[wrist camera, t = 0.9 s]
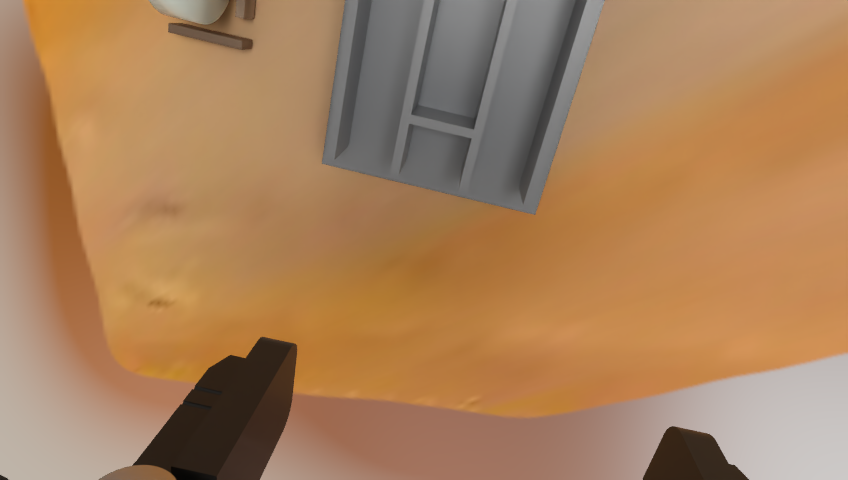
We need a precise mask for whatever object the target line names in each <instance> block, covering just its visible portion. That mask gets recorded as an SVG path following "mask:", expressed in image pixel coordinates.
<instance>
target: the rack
mask: <svg viewBox="0 0 848 480" xmlns="http://www.w3.org/2000/svg"><path fill="white" fill-rule="evenodd" d="M604 1H605V0H345V6H344V13H343V20H342V27H341V34H340V41H339V48H338V55H337V62H336V69H335V76H334V83H333V90H332V97H331V104H330V111H329V118H328V125H327V132H326V139H325V146H324V153H323V160H322V164H326V165H330V166H334V167H338V168H342V169H347V170H351V171H355V172H359V173H363V174H367V175H372V176H376V177H380V178H384V179H388V180H392V181H397V182H401V183H405V184H409V185H413V186H417V187H422V188H426V189H430V190H434V191H438V192H442V193H447V194H451V195H455V196H459V197H463V198H467V199H472V200H476V201H480V202H484V203H488V204H492V205H497V206H501V207H505V208H509V209H513V210H517V211H522V212H526V213H530V214H534V215H535V214H536V210H537V207H538V204H539V201H540V198H541V195H542V192H543V189H544V186H545V183H546V180H547V177H548V173H549V170H550V167H551V164H552V161H553V158H554V155H555V152H556V149H557V146H558V143H559V140H560V136H561V133H562V130H563V127H564V124H565V121H566V118H567V115H568V112H569V109H570V106H571V103H572V100H573V96H574V93H575V90H576V87H577V84H578V81H579V78H580V75H581V72H582V69H583V66H584V63H585V59H586V56H587V53H588V50H589V47H590V44H591V41H592V38H593V35H594V32H595V29H596V26H597V22H598V19H599V16H600V13H601V10H602V7H603V4H604Z"/></svg>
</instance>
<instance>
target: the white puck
mask: <svg viewBox="0 0 848 480" xmlns="http://www.w3.org/2000/svg"><path fill="white" fill-rule="evenodd" d="M149 2H150V3H151V4H152V5H153V7H154V8H155V9H156V10H157V11H159V12H160V13H162V14H164V15H166V16H170V17H174V18H178V19H183V20H187V21H191V22H195V23H199V24H205V25H208V24H211V23H213V22H215V21H216V20H218V19H219V17H220V16H221V15H222V14H223V12H224V11H225V9H226V7H227V5H228V3H229V0H149Z"/></svg>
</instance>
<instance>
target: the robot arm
mask: <svg viewBox="0 0 848 480" xmlns="http://www.w3.org/2000/svg"><path fill="white" fill-rule="evenodd" d="M296 357H297V345H296V344H294V343H289V342H284V341H280V340H275V339H270V338H266V337H261V338H260V339H259V340H258V341H257V343H256V344H255V346H254V347H253V348H252V350H251V351H250V353H249V354H248V356H247V357H246V358H242V357H237V356H232V355H230V356H228V357H226V358H225V359H223V360H221V361H220V362H218V363H216V364H215V365H213V366H212V367H210V368H209V369H208V370H207V371H206V372H205V374H204V375H203V376H202V378H201V379H200V380H199V381H198V383H197V384H196V385H195V388H194V390H193V389H192V390H191V392H190V393H189V394H188V396H187V397H186V398H185V399H184V401H183V404H182V405H180V406H179V407H178V408H177V410H176V411H175V412H174V413H173V415H172V416H171V417H170V419H169V420H168V421H167V423H166V424H165V425H164V426H163V428H162V429H161V430H160V432H159V433H158V434H157V435H156V437H155V438H154V439H153V440H152V442H151V443H150V444H149V446H148V447H147V448H146V449H145V451H144V452H143V453H142V454H141V456H140V457H139V458H138V460H137V461H136V462H135V463H134V464H133V465H132V466H129V467H125V468H122V469H118V470H116V471H114V472H111V473H109V474H107V475H105V476H104V477H102V478H100V479H99V480H260V478H261V476H262V473H263V471H264V469H265V467H266V465H267V463H268V461H269V459H270V457H271V455H272V453H273V451H274V449H275V446H276V444H277V442H278V440H279V438H280V436H281V434H282V432H283V430H284V428H285V425H286V422H287V419H288V416H289V412H290V408H291V403H292V395H293V386H294V376H295V366H296ZM0 480H8V479H7V478H5V477H3V476H1V475H0ZM643 480H749V479H748V478H747V477H746V476H745V475H744V474H743V473H742V472H741V471H740V470H739V469H738V468H737V467H736V466H735V465H731V464H728V462H727V460H726V459H725V456H724V455H723V453H722V451H721V450H720V447H719V446H718V444H717V442H716V440H715V439H714V438H713V437H712V436H711V435H710V434H707V433H702V432H697V431H693V430H688V429H683V428H679V427H673V426H672V427H669V428H668V429H667V430H666V432H665V433H664V435H663V438H662V440H661V442H660V444H659V446H658V448H657V450H656V452H655V454H654V456H653V458H652V460H651V463H650V465H649V467H648V469H647V471H646V473H645V475H644V477H643Z"/></svg>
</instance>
